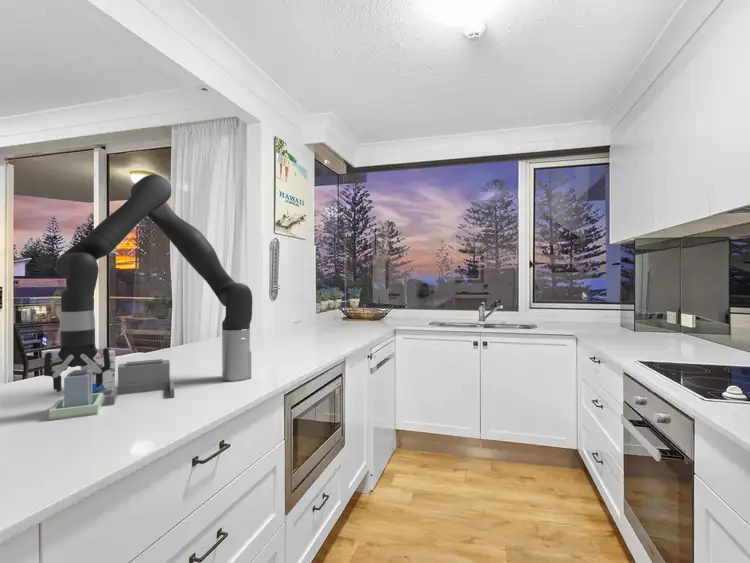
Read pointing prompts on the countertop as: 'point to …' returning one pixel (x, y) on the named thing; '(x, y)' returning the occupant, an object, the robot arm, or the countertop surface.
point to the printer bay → (143, 378)
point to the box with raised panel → (78, 388)
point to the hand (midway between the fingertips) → (78, 388)
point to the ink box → (107, 375)
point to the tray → (76, 408)
